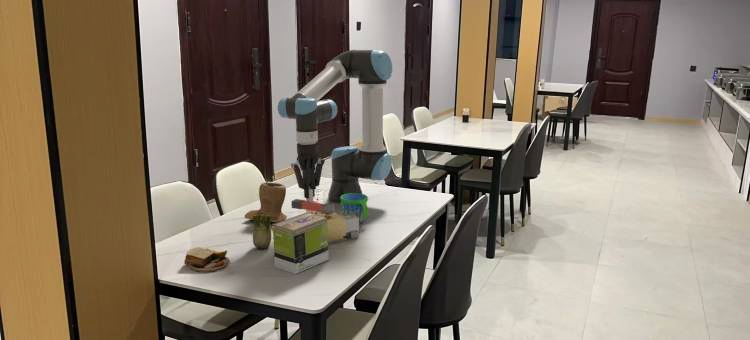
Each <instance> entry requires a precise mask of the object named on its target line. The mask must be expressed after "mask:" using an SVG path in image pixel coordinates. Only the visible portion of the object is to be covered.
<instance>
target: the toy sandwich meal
mask: <svg viewBox="0 0 750 340" xmlns="http://www.w3.org/2000/svg"><path fill="white" fill-rule="evenodd" d="M227 254H228V250H224V251H215V250H212V249H209V248H202V247H199V246H198V247H193V248H192V249H189V250H188V251H187V252H186V254H185V258H184V262H183V263H184V265H188V266H189V268H191V269H193V270H194V271H196V272H200V273H201V272H204V273H205V272H206V273H208V272H214V271H220V270H222V269H223V268H226V266H228V264H230V258H229V257H228V256H227Z"/></svg>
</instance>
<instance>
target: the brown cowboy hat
mask: <svg viewBox="0 0 750 340" xmlns="http://www.w3.org/2000/svg"><path fill="white" fill-rule="evenodd" d="M286 194H287V187H286V185H284V184H283V183H277V182H267V181H265V182H264V181H263V182H262V183H261V184H260V185H259V188H258V195H259V196H258V198H259V202H260V208H259V209H254V210H253V209H252V210H249V211H247V212H246V213H245V214H244V216H243V217H244V218H245V219H247V220H253V215H260V219H261V215H265V221H266V218H267V215H268V216H270V223H278V222H281V221H283V220H286V219H288V218H287V215H286V214H285V213H283V212H282V207H283V205H284V202H285V199H286ZM257 220H258V219H257ZM253 221H254V220H253Z"/></svg>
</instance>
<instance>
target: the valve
mask: <svg viewBox="0 0 750 340" xmlns="http://www.w3.org/2000/svg"><path fill="white" fill-rule="evenodd" d="M315 215H316V216H320V217H324V218H327V232H328V245H332V244H336V243H337V244H338V243H342V242H346V240H347V239H346V238H349V239H350V240H355V239H359V230H360V224H359V217H357V216H355V215H353V214H350V215H345V216H344V215H340V214H338V213H336V212H335V211H334V213H332V214H324V213H321V214H315ZM345 236H346V237H345Z"/></svg>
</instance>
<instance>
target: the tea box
mask: <svg viewBox="0 0 750 340" xmlns="http://www.w3.org/2000/svg"><path fill="white" fill-rule="evenodd" d="M316 215H317V214H311V213H307V212H304V213H302V214H298V215H296V216H292V217H290V218H286V219H285V220H283V221H281V222H274V223H272V239H273V240H272V241H273V254H274V255H273V257H274V267H275V268H278V269H280V270H282V271H285V272H289V273H291V274H294V275H297V274H298V273H299V274H300V273H301V272H303V271H306V270H308V269H311V268H312V267H315V266H317V265H320V264H322V263H324V262H327V261H329V259H330V258H329V256H330V255H329V244H328V232H327V218H324V217H320V216H316Z"/></svg>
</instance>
